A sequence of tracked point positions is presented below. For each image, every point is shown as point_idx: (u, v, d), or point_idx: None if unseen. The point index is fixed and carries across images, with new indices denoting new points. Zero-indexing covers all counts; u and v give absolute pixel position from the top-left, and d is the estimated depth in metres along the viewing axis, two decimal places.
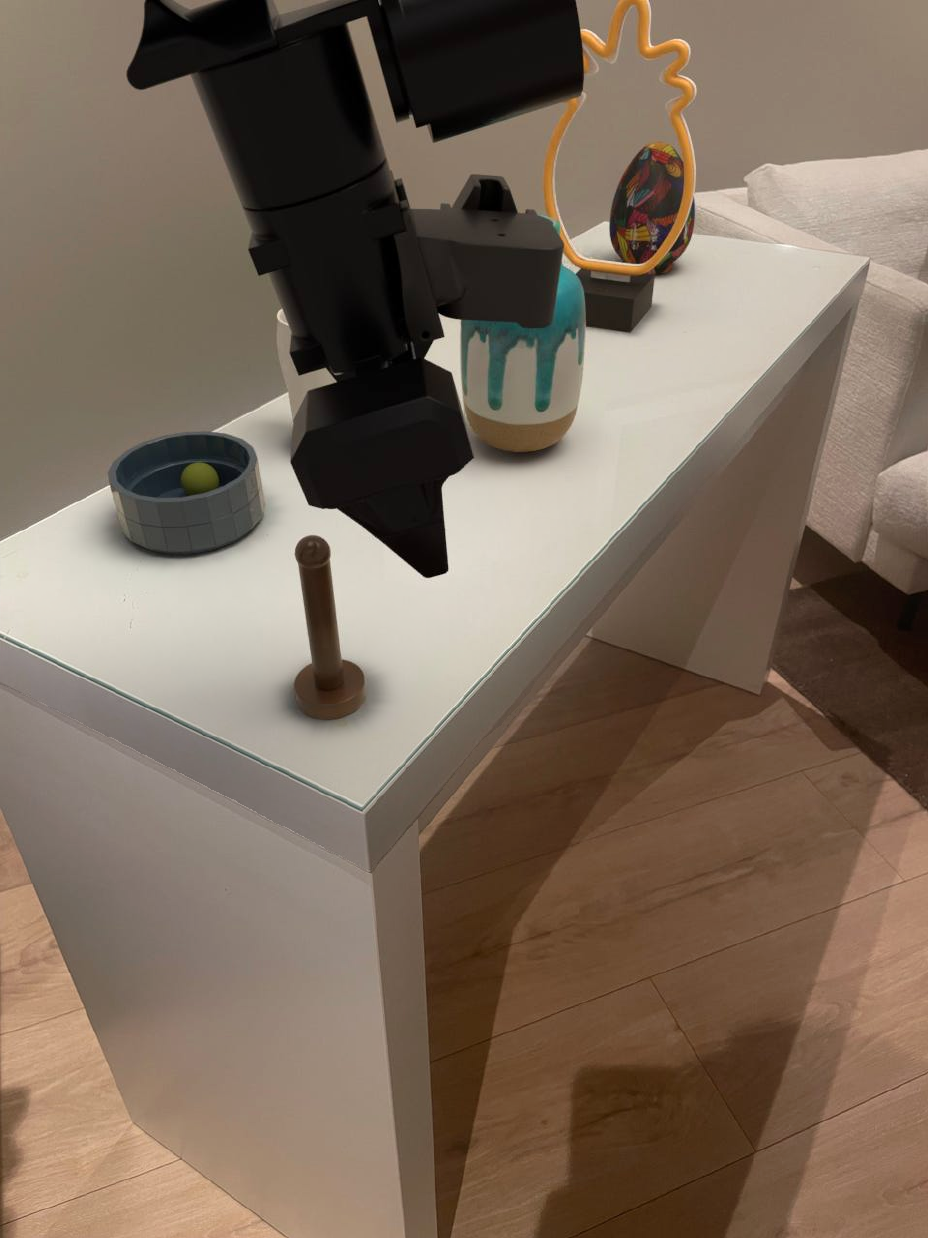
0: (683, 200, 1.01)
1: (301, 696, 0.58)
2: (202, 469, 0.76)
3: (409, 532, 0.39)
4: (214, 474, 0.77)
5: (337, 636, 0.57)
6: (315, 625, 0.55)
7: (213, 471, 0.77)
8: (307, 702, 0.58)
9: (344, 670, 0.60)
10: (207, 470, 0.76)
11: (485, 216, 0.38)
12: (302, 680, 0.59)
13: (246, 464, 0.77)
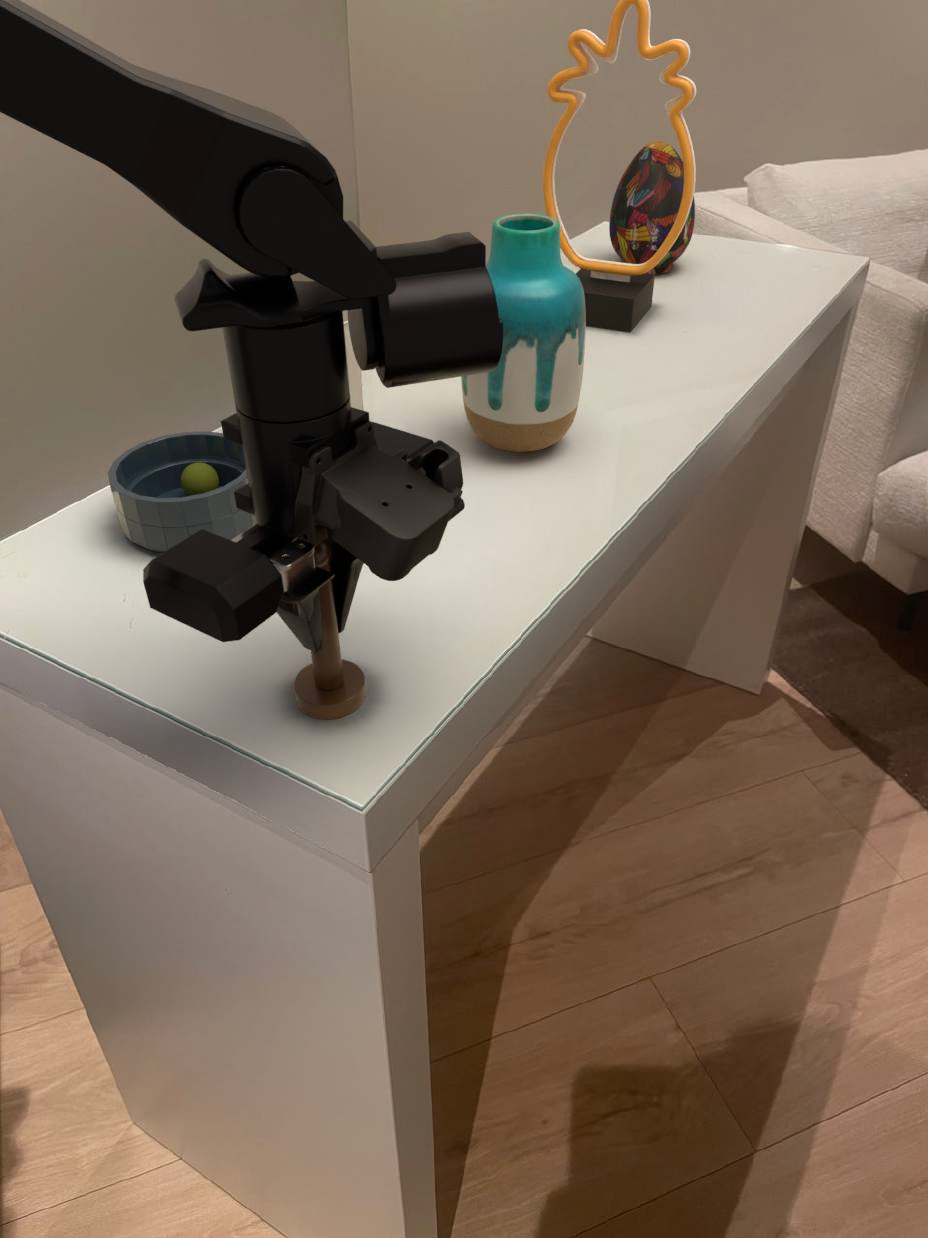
0: (683, 200, 1.01)
1: (301, 696, 0.58)
2: (202, 469, 0.76)
3: (288, 614, 0.54)
4: (214, 474, 0.77)
5: (337, 636, 0.57)
6: None
7: (213, 471, 0.77)
8: (307, 702, 0.58)
9: (344, 670, 0.60)
10: (207, 470, 0.76)
11: (409, 479, 0.48)
12: (302, 680, 0.59)
13: None
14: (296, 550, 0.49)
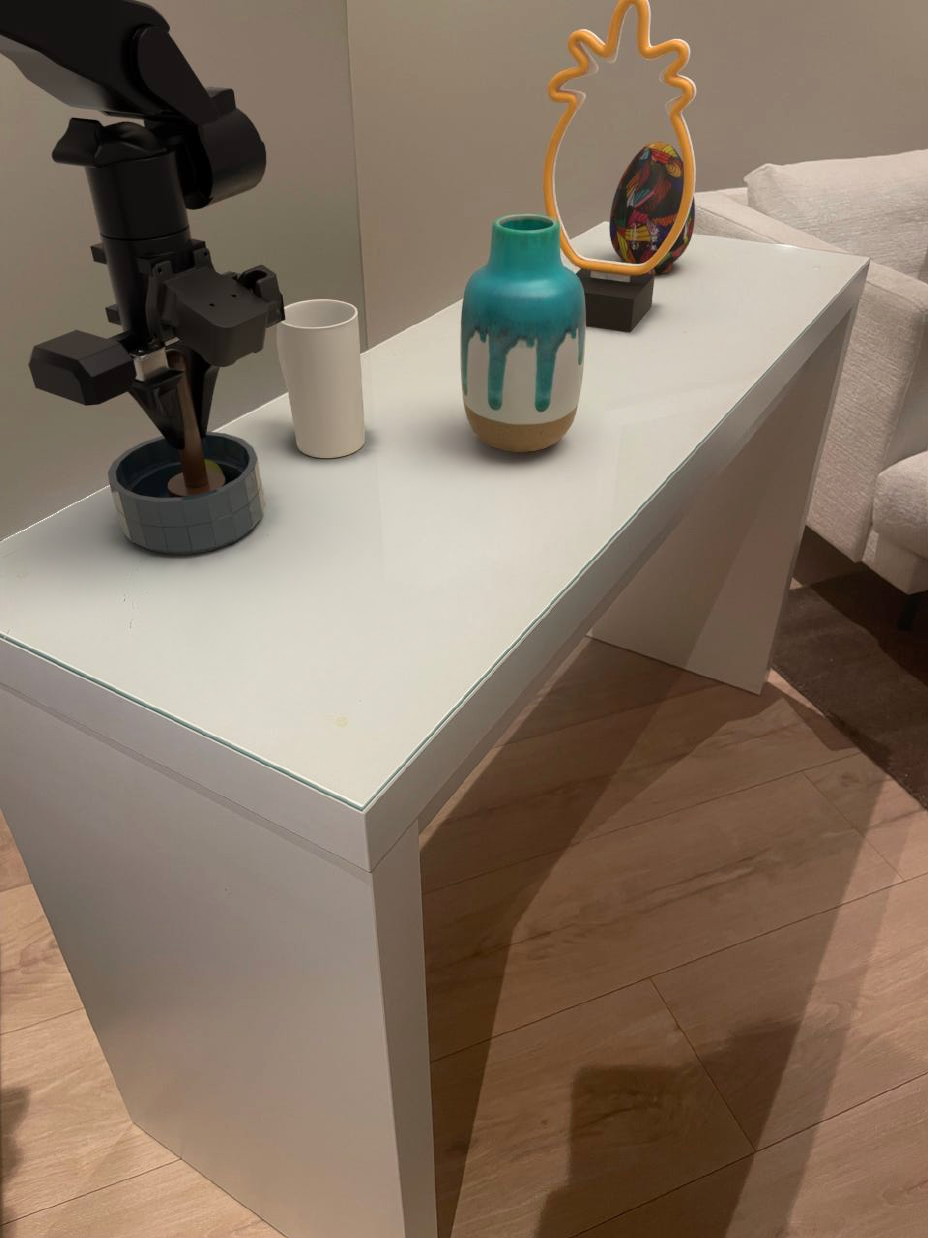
0: (683, 200, 1.01)
1: (172, 491, 0.73)
2: (212, 464, 0.77)
3: (155, 413, 0.69)
4: None
5: (198, 439, 0.71)
6: None
7: (221, 470, 0.78)
8: (176, 494, 0.72)
9: (209, 475, 0.75)
10: (216, 467, 0.77)
11: (235, 291, 0.63)
12: (174, 481, 0.74)
13: (246, 464, 0.77)
14: (150, 348, 0.64)
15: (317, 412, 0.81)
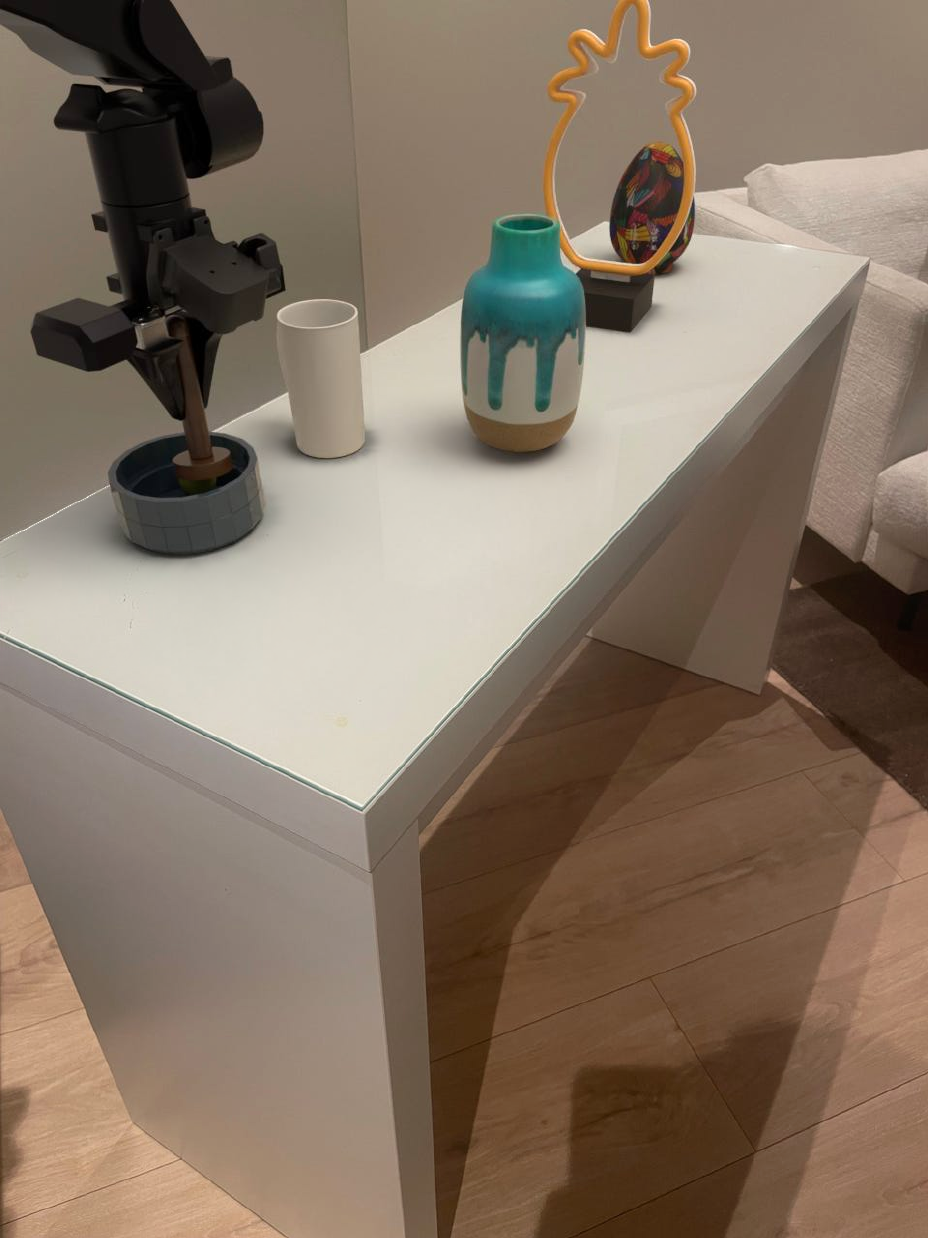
0: (683, 200, 1.01)
1: (175, 462, 0.73)
2: None
3: (155, 383, 0.69)
4: None
5: (201, 409, 0.71)
6: None
7: None
8: (177, 465, 0.72)
9: (216, 451, 0.74)
10: None
11: (235, 258, 0.63)
12: (181, 455, 0.74)
13: (246, 464, 0.77)
14: (150, 316, 0.64)
15: (317, 412, 0.81)
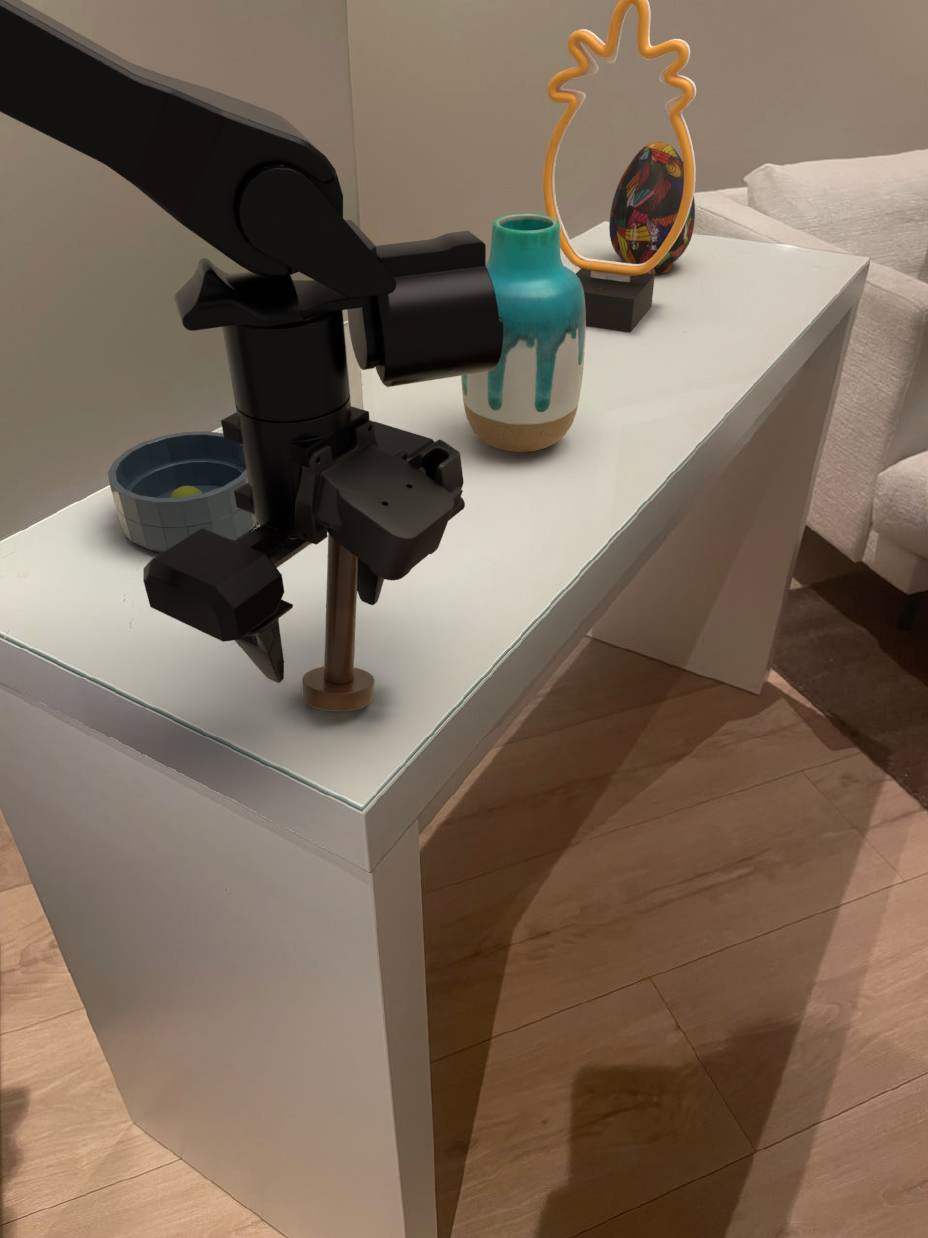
0: (683, 200, 1.01)
1: (307, 684, 0.57)
2: None
3: (248, 645, 0.52)
4: None
5: (353, 624, 0.57)
6: (333, 604, 0.56)
7: None
8: (311, 688, 0.57)
9: (356, 674, 0.59)
10: None
11: (409, 478, 0.48)
12: (312, 674, 0.59)
13: None
14: None
15: None
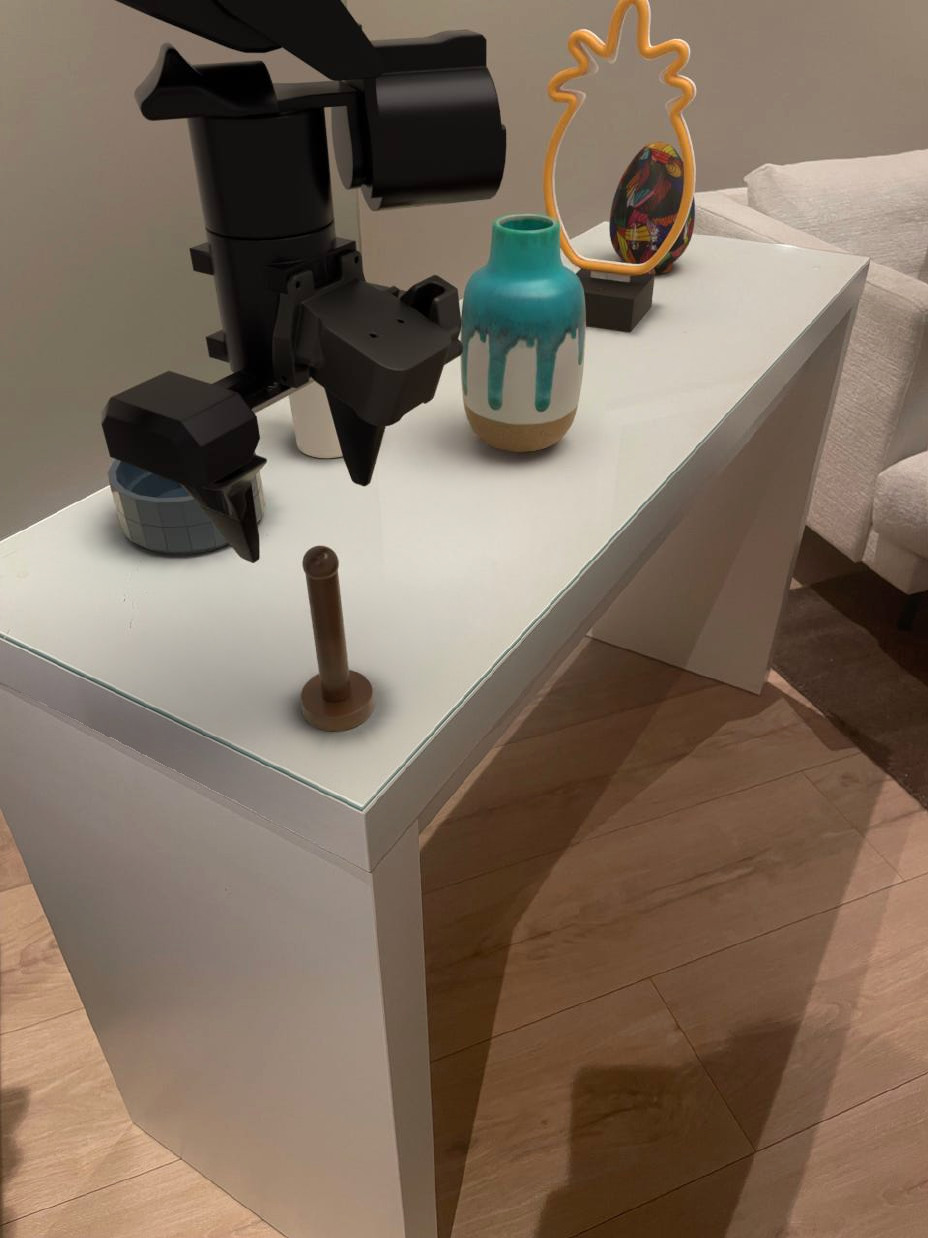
0: (683, 200, 1.01)
1: (305, 705, 0.57)
2: None
3: (219, 514, 0.46)
4: None
5: (344, 649, 0.56)
6: (320, 636, 0.55)
7: None
8: (310, 712, 0.57)
9: (353, 683, 0.59)
10: None
11: (401, 314, 0.43)
12: (310, 689, 0.59)
13: None
14: None
15: (317, 412, 0.81)
